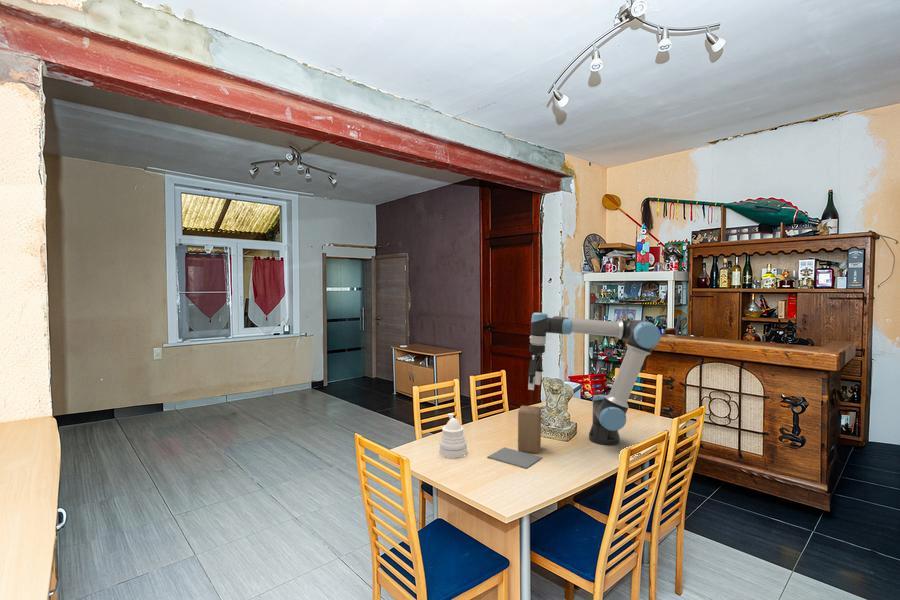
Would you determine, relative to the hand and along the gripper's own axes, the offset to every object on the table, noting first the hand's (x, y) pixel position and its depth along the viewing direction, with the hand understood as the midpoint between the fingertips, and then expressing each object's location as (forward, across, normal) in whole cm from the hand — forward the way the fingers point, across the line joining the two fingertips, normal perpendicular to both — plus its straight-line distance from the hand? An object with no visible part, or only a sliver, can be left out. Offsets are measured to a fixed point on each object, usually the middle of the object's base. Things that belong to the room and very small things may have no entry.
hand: (534, 387), depth 219 cm
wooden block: (+29, +5, +1) cm, 30 cm away
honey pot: (+32, +25, -30) cm, 51 cm away
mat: (+30, +19, -2) cm, 35 cm away
